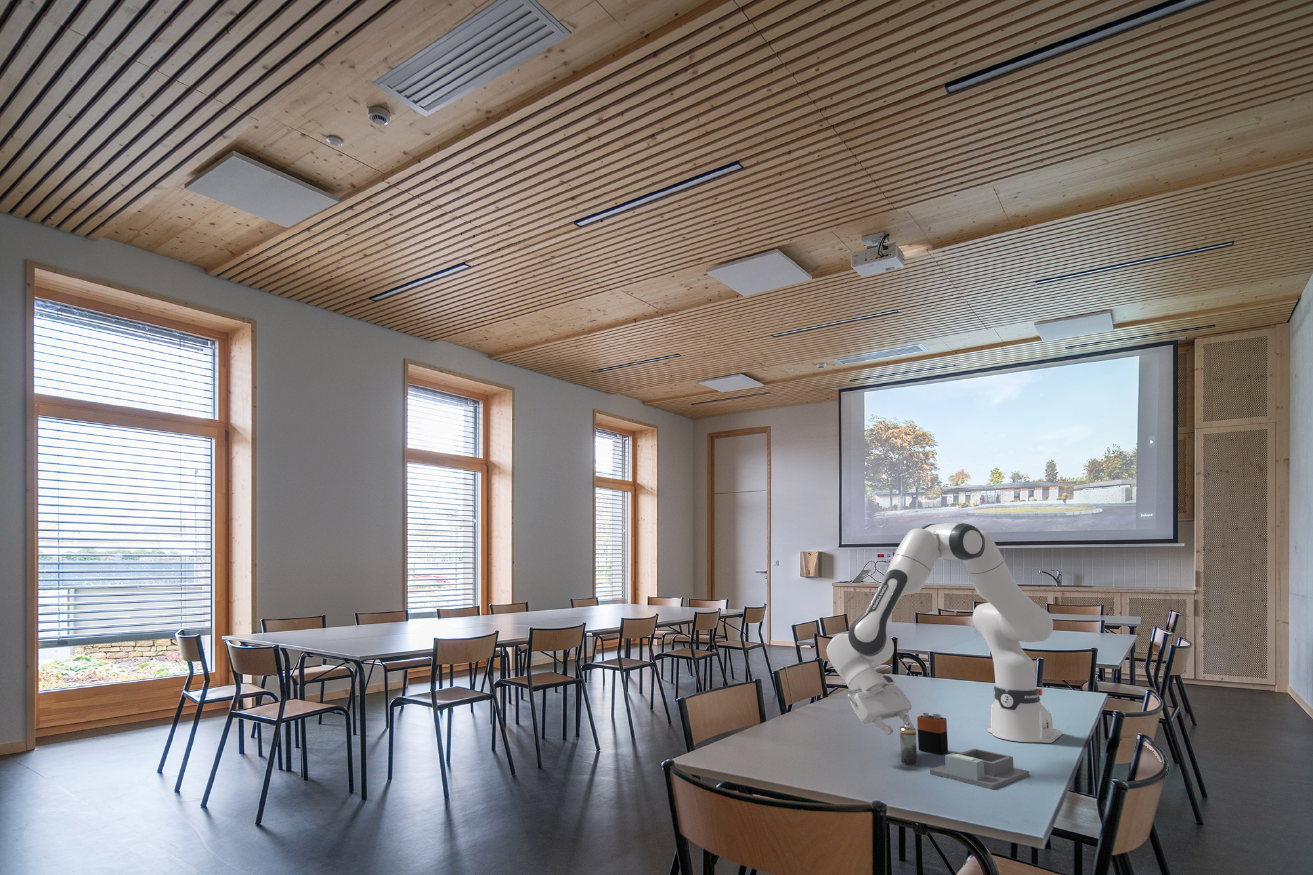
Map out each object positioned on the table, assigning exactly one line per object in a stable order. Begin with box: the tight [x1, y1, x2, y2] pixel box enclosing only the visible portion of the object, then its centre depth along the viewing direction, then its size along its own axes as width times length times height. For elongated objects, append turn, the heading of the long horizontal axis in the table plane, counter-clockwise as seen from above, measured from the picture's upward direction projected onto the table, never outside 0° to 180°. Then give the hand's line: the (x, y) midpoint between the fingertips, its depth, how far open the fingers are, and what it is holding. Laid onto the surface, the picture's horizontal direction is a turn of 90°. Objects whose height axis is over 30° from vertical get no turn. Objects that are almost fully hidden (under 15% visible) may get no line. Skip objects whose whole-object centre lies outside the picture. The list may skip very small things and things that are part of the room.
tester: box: [929, 748, 1030, 790], centre depth 187 cm, size 18×16×5 cm
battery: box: [916, 712, 949, 755], centre depth 209 cm, size 4×7×10 cm, turn 42°
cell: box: [898, 724, 918, 766], centre depth 198 cm, size 4×4×9 cm
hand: (900, 730), depth 200 cm, fingers open, 8 cm apart
